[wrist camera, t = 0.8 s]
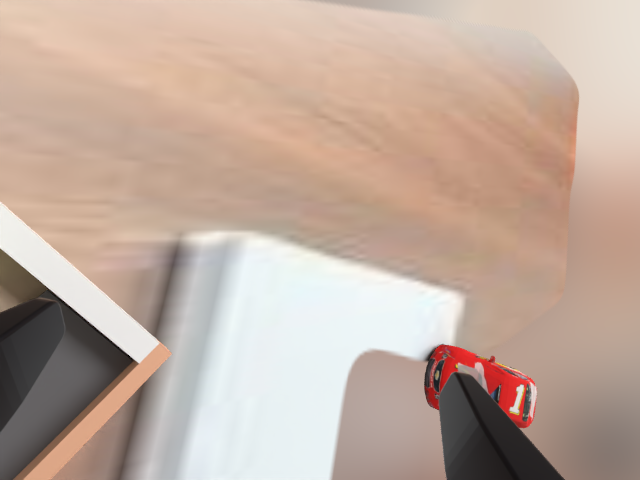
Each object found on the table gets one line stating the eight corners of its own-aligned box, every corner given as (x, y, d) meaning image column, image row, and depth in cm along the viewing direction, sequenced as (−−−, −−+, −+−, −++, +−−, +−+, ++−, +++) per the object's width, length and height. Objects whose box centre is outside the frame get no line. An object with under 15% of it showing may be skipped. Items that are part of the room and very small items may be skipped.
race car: (409, 402, 28) (452, 420, 25) (425, 334, 30) (468, 342, 26) (501, 427, 34) (546, 445, 31) (511, 370, 36) (554, 381, 32)
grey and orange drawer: (-43, 560, 14) (-56, 589, 13) (-200, 483, 12) (-234, 508, 11) (166, 347, 19) (171, 353, 17) (75, 267, 17) (74, 267, 15)
